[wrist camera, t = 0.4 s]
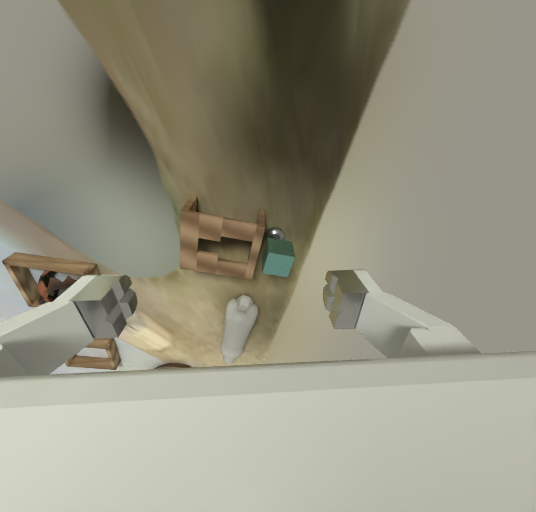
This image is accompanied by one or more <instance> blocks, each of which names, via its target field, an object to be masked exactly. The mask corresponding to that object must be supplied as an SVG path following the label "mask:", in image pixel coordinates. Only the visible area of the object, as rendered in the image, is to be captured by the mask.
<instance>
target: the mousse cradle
mask: <svg viewBox="0 0 536 512" xmlns="http://www.w3.org/2000/svg"><path fill="white" fill-rule="evenodd" d="M86 347H88V348H100V349H106V351H107V354H108V357H109V358H98V357H86V356H76V354H75V355H74V356H73V357H71V358H70V359H69V360H67V361H66V362H65V363H66V365H67V366H70V367H84V368H97V369H110V370H116V369H117V367H118V365H119V363H120V361H121V360H120V357H119V354H118V350H117V347H116V343H115V340H114V338H101V339H94V341H92V342H91V343H90V344H88V345H87V346H86Z"/></svg>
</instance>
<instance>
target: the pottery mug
mask: <svg viewBox="0 0 536 512" xmlns="http://www.w3.org/2000/svg"><path fill="white" fill-rule="evenodd" d="M49 272H50V271H49V270H45V271H44V272H43V274H42V275H41V277H40V279H39V281H38V291H39V293H40V297H39V298H38V304H40V305H42V304H45V303H47V302H53V301H54V300H55V299H56V298H57V297H58V292H59V289H61V288H69V287H70V286H72V285H73V284H74V283H75V282H76V281H77V280H73V279H72V278H71V277H70V276H68V277H67V278H66V279H65V281H64V282H61V281H60V280H58V279H56V278H54V277H52V278H48V277H47V275H46V274H47V273H49Z"/></svg>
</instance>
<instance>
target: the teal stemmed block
mask: <svg viewBox="0 0 536 512" xmlns="http://www.w3.org/2000/svg"><path fill="white" fill-rule="evenodd" d="M284 240H285V235H284V232H283V231H282V230H281V229H280V228H271V229H269V230H268V231H267V232H266V245H265V249H264V252H263V256H262V273H263V274H270V275H276V276H282V277H288V275H289V272H290V269H291V267H292V264H293V262H294V259H295V254H294V250H293V245H292V242H289V241H284Z"/></svg>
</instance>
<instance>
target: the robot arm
mask: <svg viewBox="0 0 536 512" xmlns="http://www.w3.org/2000/svg"><path fill="white" fill-rule="evenodd" d="M326 281H327V283H328V284H327V285H326V286H325V287H324V290H323V301H324V305H325V307H326V309H327V310H328V311H330V315H329V317H330V319H331V322H332V324H333V327H334V328H335V329H355V330H356V331H357V332H358V333H360V334H361V335H362V336H363V337H364V338H365V339H366V340H368V341H369V342H370V343H371V344H372V345H373V346H374V347H376V348H377V349H378V350H379V351H380V352H381V353H383V354H384V355H385V356H386V357H387V358H380V359H360V360H341V361H320V362H298V363H279V364H256V365H235V366H215V367H195V368H174V369H154V370H134V371H113V372H93V373H72V374H52V375H49V374H50V373H51V372H53V371H54V370H55V369H57V368H58V367H59V366H61V365H62V364H63V363H65V362H66V361H67V360H69V359H70V358H71V357H73V356H74V355H75V354H76V353H78V352H79V351H80V350H82V349H83V348H84V347H86V346H87V345H88V344H90V343H91V342H92V341H94V339H101V338H116V337H119V335H120V334H121V332H122V331H123V329H124V328H125V326H126V324H127V322H126V319H127V318H129V317H130V316H132V315H133V313H134V312H135V310H136V307H137V296H136V293H135V292H134V291H133V290H132V289H130V287H131V285H132V282H131V280H130V277H129V276H127V275H86V276H82V277H81V278H80V279H79V280H77V281H76V282H75V283H74V284H73V285H72V286H70V287H69V288H68V289H67V290H66V291H65V292H63V293H62V294H61V295H60V296H59V297H58V298H56V299H55V300H54V301H53V302H47V303H45V304H42V305H40V306H38V307H36V308H33V309H31V310H29V311H26V312H24V313H22V314H19V315H17V316H15V317H12V318H10V319H8V320H6V321H3V322H1V323H0V512H536V351H523V352H503V353H480V351H479V350H477V349H476V347H474V346H473V345H472V344H471V343H470V342H469V341H468V340H467V339H466V338H465V337H464V336H463V335H462V334H461V333H460V332H459V331H458V330H457V329H456V328H455V327H454V326H452V325H450V324H448V323H447V322H444V321H443V320H441V319H438V318H437V317H435V316H433V315H430V314H429V313H427V312H425V311H423V310H421V309H418V308H417V307H415V306H413V305H411V304H409V303H407V302H405V301H403V300H401V299H399V298H396V297H394V296H392V295H390V294H389V293H383V292H382V290H380V288H379V287H378V286H377V284H376V283H375V282H374V281H373V279H372V278H371V277H370V276H369V275H368V274H367V272H366V271H365V270H363V269H357V270H340V271H328V272H327V274H326Z"/></svg>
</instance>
